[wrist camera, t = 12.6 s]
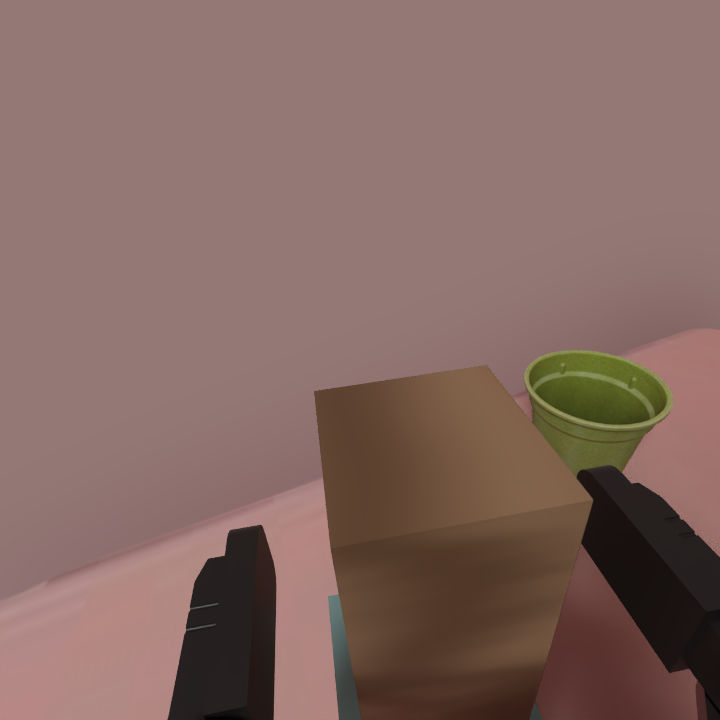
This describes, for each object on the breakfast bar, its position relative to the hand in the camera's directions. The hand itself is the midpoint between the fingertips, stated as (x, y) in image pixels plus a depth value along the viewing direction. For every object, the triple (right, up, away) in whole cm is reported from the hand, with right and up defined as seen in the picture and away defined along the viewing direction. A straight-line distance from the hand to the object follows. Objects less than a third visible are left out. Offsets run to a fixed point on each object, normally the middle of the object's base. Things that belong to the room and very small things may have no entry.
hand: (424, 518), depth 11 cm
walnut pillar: (+1, -6, +3) cm, 7 cm away
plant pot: (+16, -5, +24) cm, 29 cm away
